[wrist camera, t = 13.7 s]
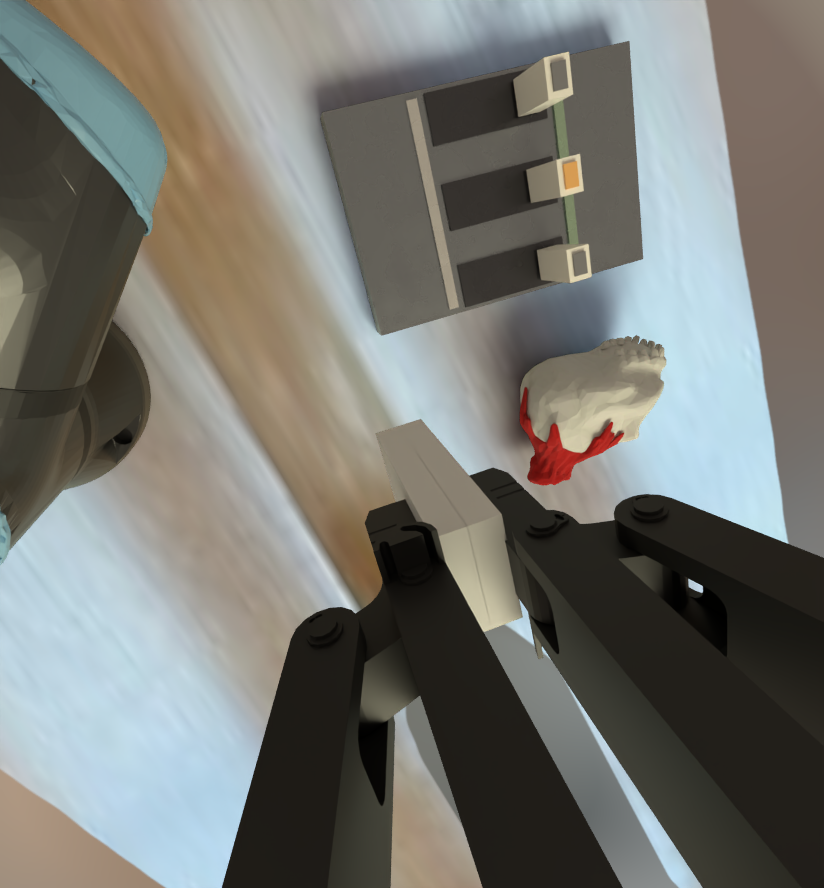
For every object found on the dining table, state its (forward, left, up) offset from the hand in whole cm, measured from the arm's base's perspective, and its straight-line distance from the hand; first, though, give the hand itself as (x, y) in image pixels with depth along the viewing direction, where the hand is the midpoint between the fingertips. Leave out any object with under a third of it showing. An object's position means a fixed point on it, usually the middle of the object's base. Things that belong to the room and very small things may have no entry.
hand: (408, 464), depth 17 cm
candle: (+19, -12, -30) cm, 37 cm away
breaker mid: (+19, +7, -27) cm, 34 cm away
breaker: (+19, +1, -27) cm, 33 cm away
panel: (+16, +7, -29) cm, 34 cm away
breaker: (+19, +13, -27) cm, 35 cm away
